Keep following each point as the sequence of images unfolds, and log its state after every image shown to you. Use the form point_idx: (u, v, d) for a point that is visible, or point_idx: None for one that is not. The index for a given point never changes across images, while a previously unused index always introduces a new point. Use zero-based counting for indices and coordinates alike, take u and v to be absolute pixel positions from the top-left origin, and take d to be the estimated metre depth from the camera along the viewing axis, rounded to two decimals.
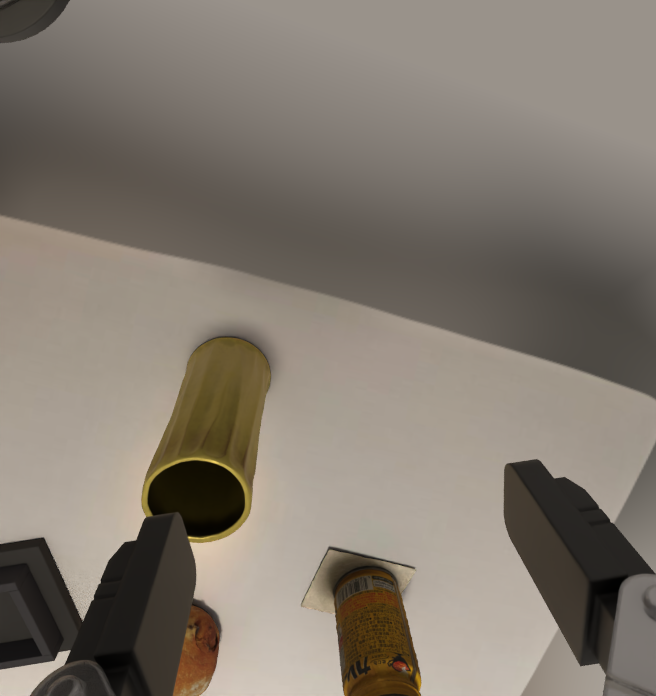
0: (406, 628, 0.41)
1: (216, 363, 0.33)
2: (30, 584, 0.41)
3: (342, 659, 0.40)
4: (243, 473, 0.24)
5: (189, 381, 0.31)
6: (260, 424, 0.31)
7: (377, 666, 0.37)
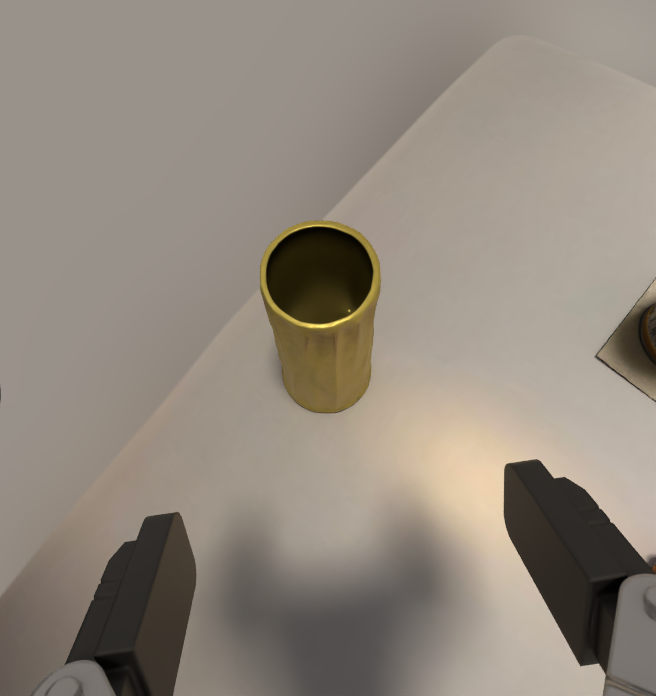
0: None
1: None
2: None
3: None
4: None
5: (279, 356, 0.29)
6: None
7: None
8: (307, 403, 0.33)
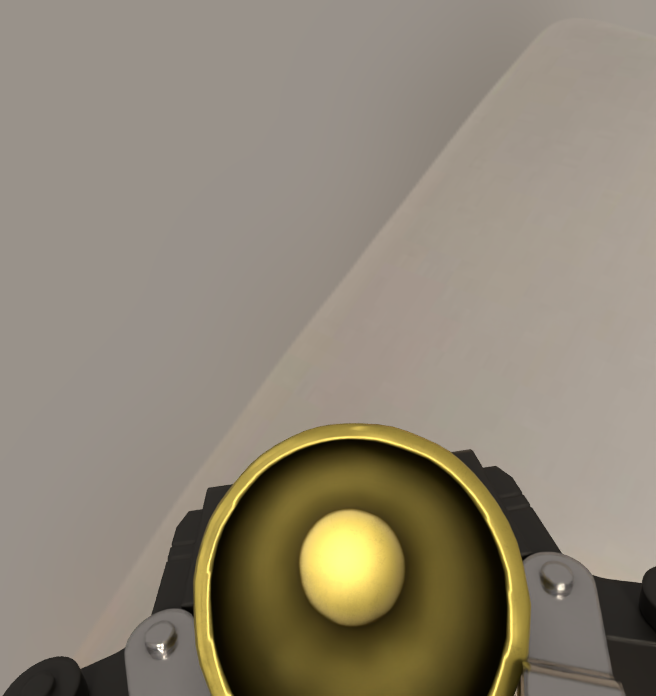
0: None
1: None
2: None
3: None
4: None
5: None
6: None
7: None
8: None
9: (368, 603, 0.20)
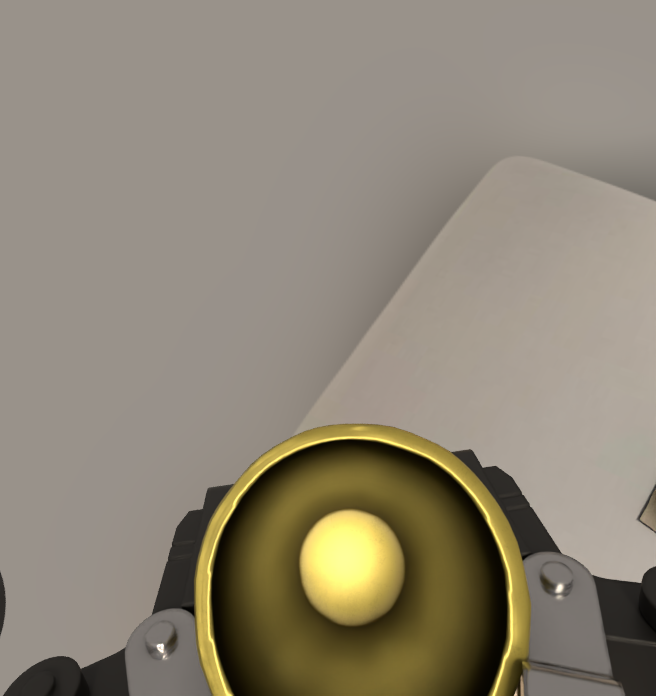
0: None
1: None
2: None
3: None
4: None
5: None
6: None
7: None
8: None
9: (368, 603, 0.20)
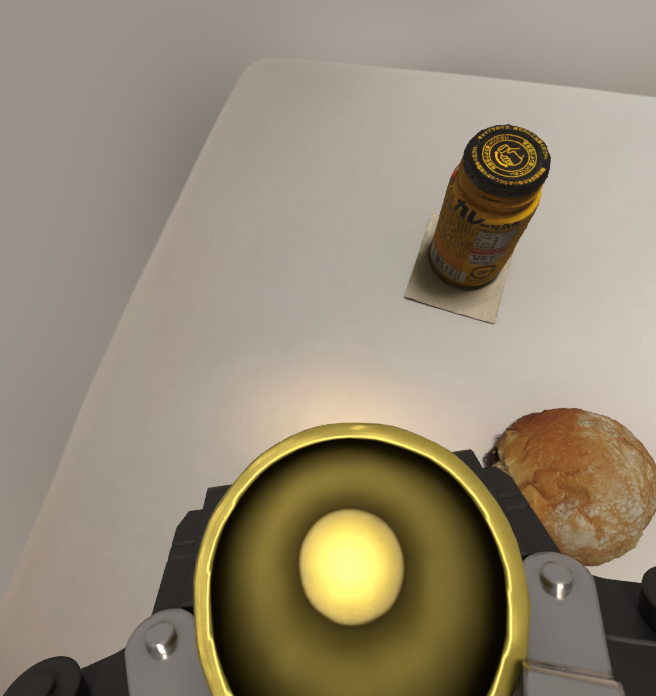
0: None
1: None
2: None
3: (482, 240, 0.34)
4: None
5: None
6: None
7: (455, 193, 0.33)
8: None
9: (368, 603, 0.20)
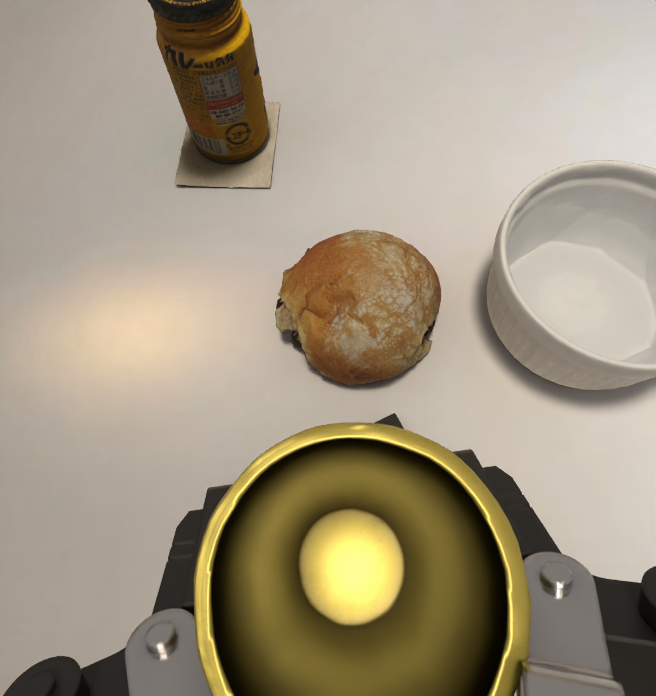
0: None
1: None
2: None
3: (208, 87, 0.33)
4: None
5: None
6: None
7: (160, 40, 0.31)
8: None
9: (368, 603, 0.20)
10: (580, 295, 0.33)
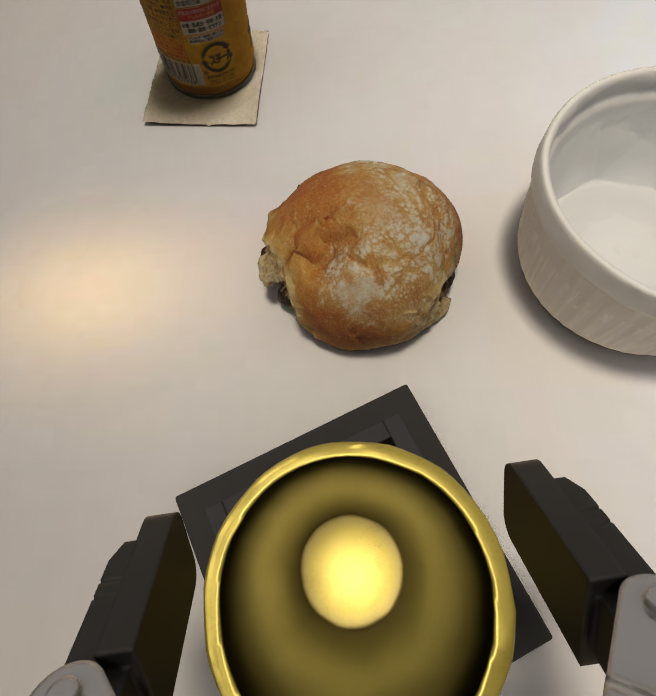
0: None
1: None
2: None
3: None
4: None
5: None
6: None
7: None
8: None
9: (368, 607, 0.20)
10: (632, 243, 0.27)
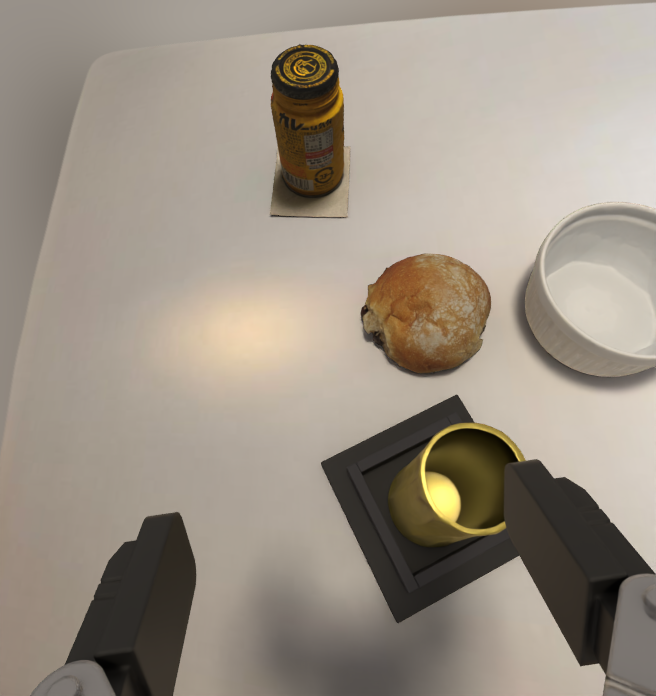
0: None
1: (398, 488, 0.34)
2: None
3: (309, 143, 0.42)
4: (455, 424, 0.25)
5: (402, 511, 0.32)
6: None
7: (276, 109, 0.41)
8: (419, 541, 0.35)
9: None
10: (597, 304, 0.42)
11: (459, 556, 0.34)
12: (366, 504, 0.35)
